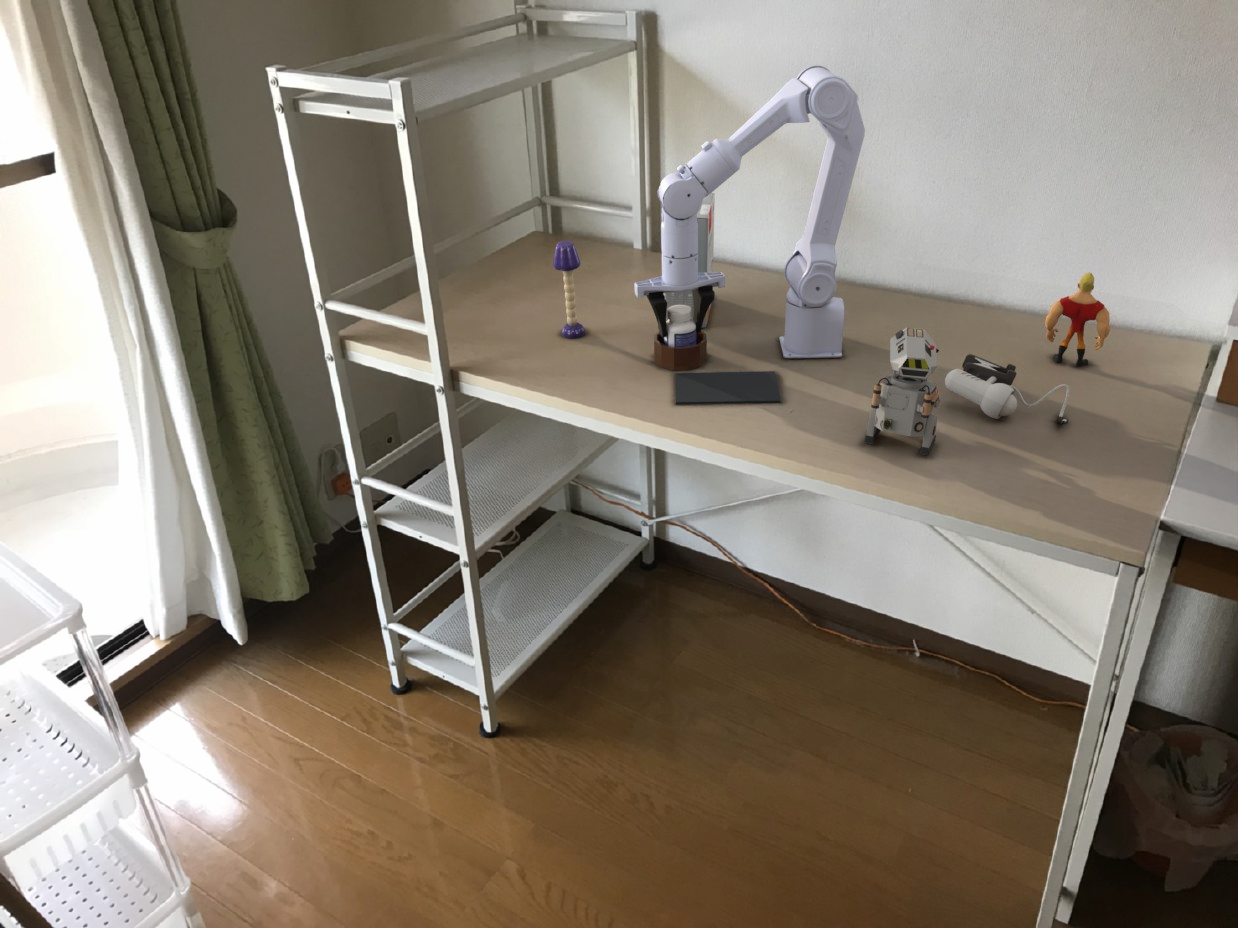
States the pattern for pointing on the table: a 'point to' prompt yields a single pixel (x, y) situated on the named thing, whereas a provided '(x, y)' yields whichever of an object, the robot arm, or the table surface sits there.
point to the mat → (726, 388)
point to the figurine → (907, 391)
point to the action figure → (1079, 318)
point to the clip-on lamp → (992, 387)
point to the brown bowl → (680, 353)
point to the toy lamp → (568, 285)
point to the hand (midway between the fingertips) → (680, 332)
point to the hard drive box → (699, 255)
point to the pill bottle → (680, 327)
